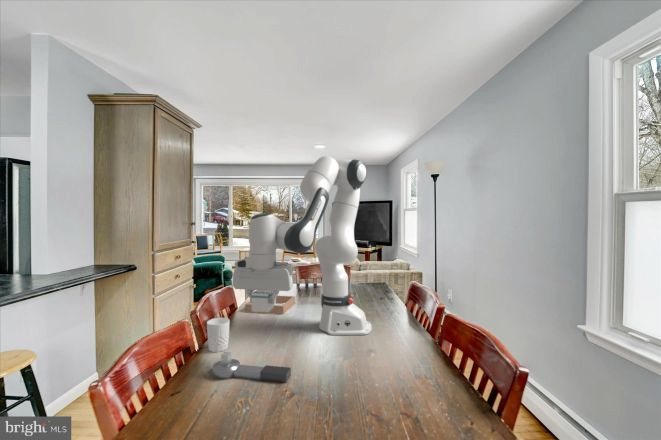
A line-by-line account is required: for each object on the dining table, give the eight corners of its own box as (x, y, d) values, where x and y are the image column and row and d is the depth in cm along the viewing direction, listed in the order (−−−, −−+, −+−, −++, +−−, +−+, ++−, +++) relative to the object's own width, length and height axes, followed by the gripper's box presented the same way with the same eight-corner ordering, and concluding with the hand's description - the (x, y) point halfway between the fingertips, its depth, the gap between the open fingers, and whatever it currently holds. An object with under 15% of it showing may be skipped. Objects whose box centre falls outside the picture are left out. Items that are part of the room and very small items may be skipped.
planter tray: (295, 303, 173) (295, 296, 173) (283, 314, 155) (283, 306, 155) (260, 301, 177) (260, 294, 177) (245, 312, 159) (244, 304, 158)
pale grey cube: (274, 307, 109) (274, 289, 109) (267, 312, 103) (267, 293, 103) (258, 306, 110) (258, 289, 110) (251, 311, 104) (251, 293, 104)
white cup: (208, 354, 111) (208, 326, 110) (205, 346, 118) (205, 319, 117) (231, 350, 114) (231, 322, 114) (227, 342, 121) (227, 316, 121)
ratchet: (292, 372, 98) (292, 353, 98) (284, 386, 90) (283, 365, 90) (221, 365, 103) (221, 347, 103) (207, 378, 95) (206, 358, 95)
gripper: (295, 260, 107) (295, 301, 107) (239, 259, 111) (239, 299, 111) (289, 263, 101) (289, 307, 101) (230, 262, 105) (230, 304, 105)
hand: (263, 302), depth 106 cm, fingers closed on pale grey cube, 6 cm apart
